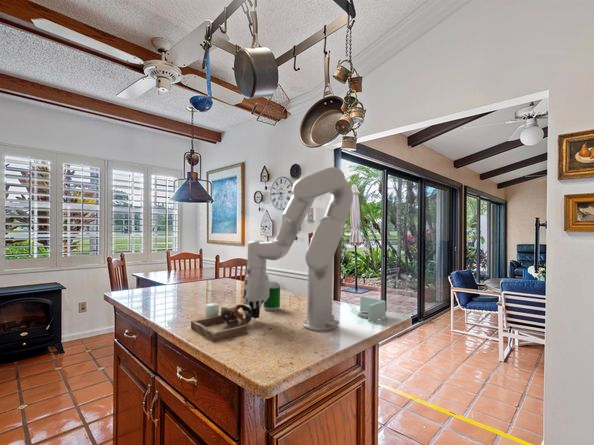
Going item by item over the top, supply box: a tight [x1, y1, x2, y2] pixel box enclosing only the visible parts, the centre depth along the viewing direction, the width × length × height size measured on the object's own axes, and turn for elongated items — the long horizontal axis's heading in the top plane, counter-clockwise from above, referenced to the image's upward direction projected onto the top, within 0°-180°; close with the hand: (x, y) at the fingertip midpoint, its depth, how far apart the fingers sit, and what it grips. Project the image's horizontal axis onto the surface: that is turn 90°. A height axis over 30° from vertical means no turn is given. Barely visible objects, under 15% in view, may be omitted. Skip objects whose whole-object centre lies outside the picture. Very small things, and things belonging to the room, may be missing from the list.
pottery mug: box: [220, 303, 253, 326], centre depth 117 cm, size 12×10×8 cm
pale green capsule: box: [205, 302, 220, 318], centre depth 123 cm, size 5×5×6 cm
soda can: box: [262, 281, 281, 312], centre depth 140 cm, size 8×8×12 cm
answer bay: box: [190, 314, 248, 342], centre depth 111 cm, size 17×13×3 cm
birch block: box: [220, 304, 236, 317], centre depth 127 cm, size 4×4×4 cm
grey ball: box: [243, 305, 251, 316], centre depth 131 cm, size 4×4×4 cm
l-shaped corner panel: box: [357, 295, 387, 323], centre depth 131 cm, size 12×12×8 cm
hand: (255, 317), depth 122 cm, fingers closed
